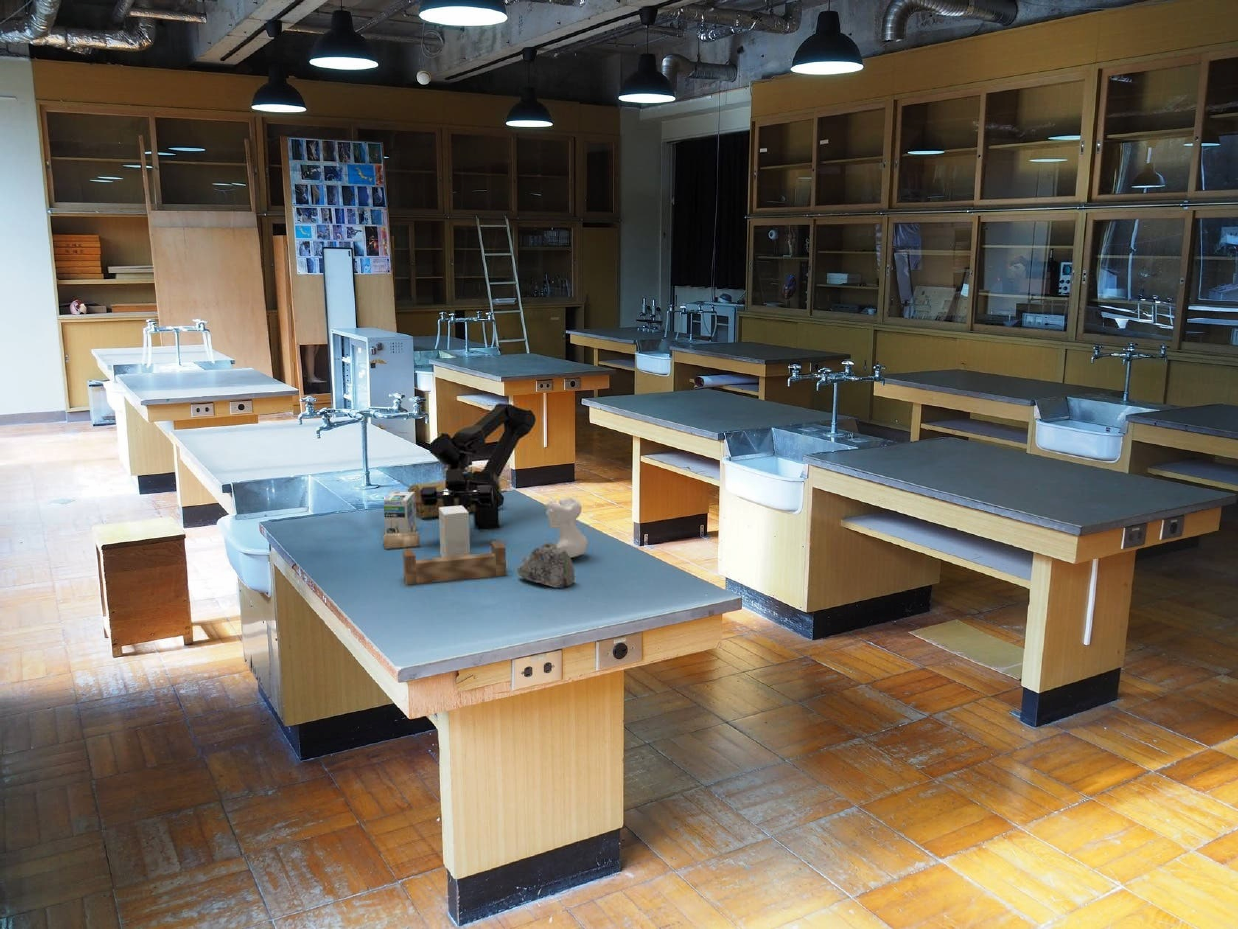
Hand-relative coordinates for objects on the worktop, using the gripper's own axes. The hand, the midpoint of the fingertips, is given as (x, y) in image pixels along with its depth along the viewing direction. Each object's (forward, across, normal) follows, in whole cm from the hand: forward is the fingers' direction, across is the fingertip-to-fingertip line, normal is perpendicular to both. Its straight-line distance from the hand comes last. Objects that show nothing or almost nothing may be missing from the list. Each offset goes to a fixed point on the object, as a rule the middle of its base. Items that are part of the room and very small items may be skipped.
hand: (456, 523), depth 270 cm
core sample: (-24, -4, +34) cm, 42 cm away
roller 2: (+3, -14, +6) cm, 16 cm away
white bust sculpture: (+12, +28, -1) cm, 30 cm away
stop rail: (+21, +1, -11) cm, 24 cm away
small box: (+11, 0, -1) cm, 11 cm away
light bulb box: (-7, -17, +18) cm, 26 cm away
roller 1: (0, -15, +10) cm, 18 cm away
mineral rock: (+26, +23, -15) cm, 38 cm away
